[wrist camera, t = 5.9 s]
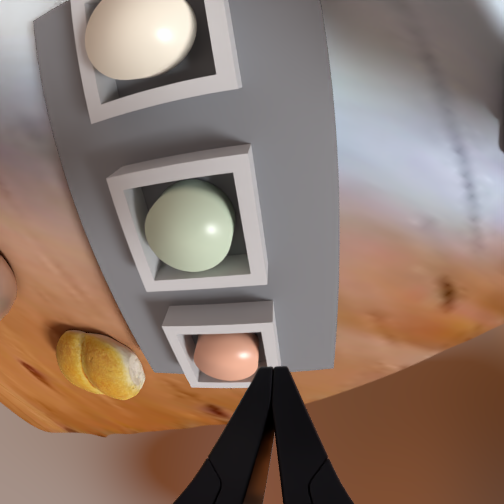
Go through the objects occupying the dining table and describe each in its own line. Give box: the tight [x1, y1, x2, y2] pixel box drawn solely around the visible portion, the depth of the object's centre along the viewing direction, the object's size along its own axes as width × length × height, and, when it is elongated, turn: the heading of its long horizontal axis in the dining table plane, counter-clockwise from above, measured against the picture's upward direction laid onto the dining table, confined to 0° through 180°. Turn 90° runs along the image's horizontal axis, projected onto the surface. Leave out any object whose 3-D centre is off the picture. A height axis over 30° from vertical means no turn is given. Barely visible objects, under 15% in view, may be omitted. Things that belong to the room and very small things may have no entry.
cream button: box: [85, 0, 197, 80], centre depth 9 cm, size 4×4×2 cm
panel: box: [33, 0, 339, 388], centre depth 15 cm, size 14×26×4 cm, turn 8°
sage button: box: [145, 179, 236, 272], centre depth 14 cm, size 4×4×2 cm
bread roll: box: [56, 330, 145, 400], centre depth 25 cm, size 8×9×4 cm
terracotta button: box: [194, 332, 259, 381], centre depth 19 cm, size 4×4×2 cm
